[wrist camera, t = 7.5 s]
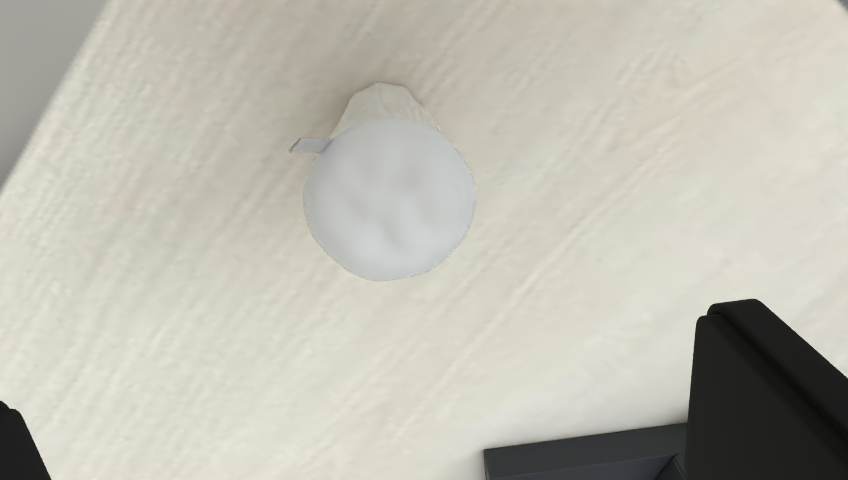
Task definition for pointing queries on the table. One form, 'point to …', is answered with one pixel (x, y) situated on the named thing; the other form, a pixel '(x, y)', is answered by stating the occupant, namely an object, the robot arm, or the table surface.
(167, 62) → the table surface
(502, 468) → the dark grey flat block
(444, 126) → the table surface
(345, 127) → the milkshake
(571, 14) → the table surface
